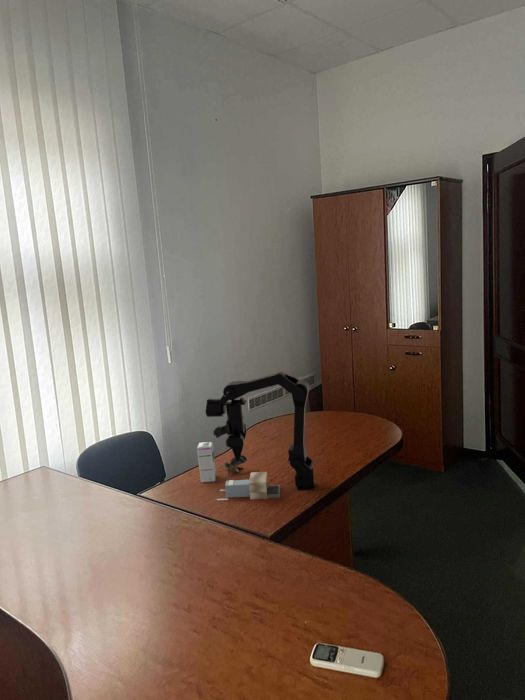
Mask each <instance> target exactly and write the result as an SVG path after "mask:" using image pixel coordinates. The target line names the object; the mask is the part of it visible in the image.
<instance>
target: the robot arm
mask: <svg viewBox="0 0 525 700" xmlns="http://www.w3.org/2000/svg"><path fill="white" fill-rule="evenodd" d="M277 385H278V386H281V388H283V389H284V390H286V392H289V393H290V394H291V397H292V402H293V403H292V404H293V406H294V416H293V417H294V419H293V420H294V421H293V422H294V423H293V424H294V425H293V445H292V444H290V445H289V446H288V450H287V451H288V459H287V461H288V462H289V465H290V466H291V468H292V469H294V471H295V473H294V483H295V487H296V490H297V491H302V490H315V488H316V486H315V479H314V477H315V476H314V468H313V463H314V460H312V458H311V457H309V456H308V453H307V447H306V443H305V427H306V425H305V424H306V407H307V406H306V404H307V402H308V396H309V391H310V384H309V382H307V381H306V380H304V379H298V378H296V377H295V376H292V375H289V374H287V373H285V372H283V371H277V372H275V373H272V374H268V375H264V376H261V377H257V378H253V379H251V380H235V381H230V382H229V383H228V384H226V386H224V388H223V390H222V392H223V394H222V396H221V397H220V398H207V400H206V406H205V415H206V417H207V418H222V417H224V415H225V414H226V417H227V419H226V421H225V422H223V423H220V424H218V425H216V426H215V427H213V429H212V431H213V436H215V438H216V439H219V438H220V437H221V436H223V435H226V434H227V437H226V440H225V445H226V447H227V448H229V449H231V450H232V453H233V456H234V458H235V459H236V461H239V460H240V456H241V455H242V452H243V448H244V445H245V439H246V436H247V435H246V434H247V431H248V428H247V424H246V423H244V416H243V406H245V405H246V404H247V403H248V401H247V400H246V399H244V397H243V396H244V395H246V394H248V393H250V392H254V391H258V390H262V389H266V388H270V387H274V386H277ZM238 398H239V399H238Z"/></svg>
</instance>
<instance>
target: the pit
mask: <svg viewBox="0 0 525 700" xmlns="http://www.w3.org/2000/svg"><path fill="white" fill-rule="evenodd" d="M271 498H273V499H274V498H281V484H274V485H273V484H272V485H270V484H268V489H267V499H271Z"/></svg>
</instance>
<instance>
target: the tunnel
mask: <svg viewBox="0 0 525 700" xmlns="http://www.w3.org/2000/svg"><path fill="white" fill-rule="evenodd" d="M248 480H249V490H250V496H249V500H266V499H268V498H267V493H268V486H269V484H268V483H269V482H268V471H256V472H255V471H254V472H253V471H252V472H250V476H249V479H248Z"/></svg>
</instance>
